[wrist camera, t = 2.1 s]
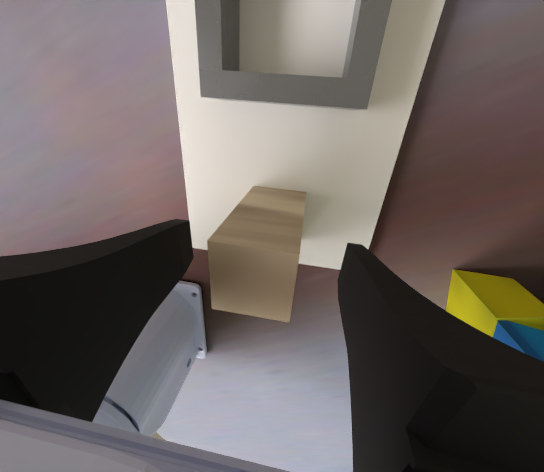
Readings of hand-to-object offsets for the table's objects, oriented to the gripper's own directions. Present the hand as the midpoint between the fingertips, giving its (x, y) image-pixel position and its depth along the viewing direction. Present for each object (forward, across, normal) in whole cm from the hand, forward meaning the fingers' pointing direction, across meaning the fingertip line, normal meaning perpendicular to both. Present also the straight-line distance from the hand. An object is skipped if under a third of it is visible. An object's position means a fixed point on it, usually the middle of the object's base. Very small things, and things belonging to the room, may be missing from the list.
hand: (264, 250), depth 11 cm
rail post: (+5, 0, 0) cm, 5 cm away
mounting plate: (+6, 0, -5) cm, 7 cm away
